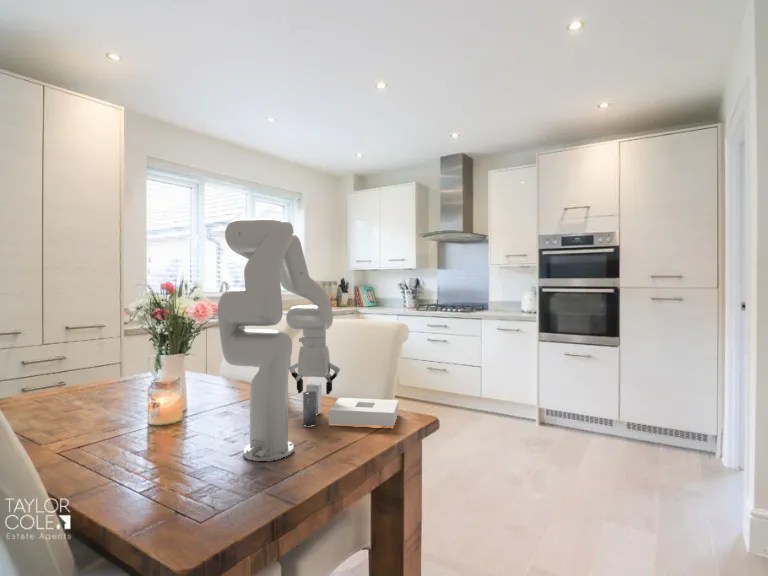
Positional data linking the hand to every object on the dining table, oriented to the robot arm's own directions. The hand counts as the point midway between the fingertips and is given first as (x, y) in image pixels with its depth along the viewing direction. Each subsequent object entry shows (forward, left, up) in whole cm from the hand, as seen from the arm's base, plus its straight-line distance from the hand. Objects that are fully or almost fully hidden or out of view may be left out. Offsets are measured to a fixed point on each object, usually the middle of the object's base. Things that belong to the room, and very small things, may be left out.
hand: (314, 392), depth 145 cm
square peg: (-1, 0, -7) cm, 7 cm away
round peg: (-12, -2, -7) cm, 14 cm away
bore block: (-5, -18, -7) cm, 20 cm away
